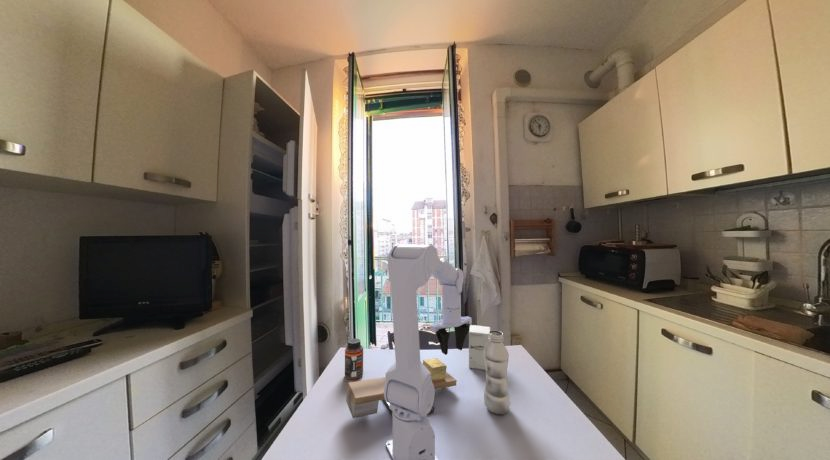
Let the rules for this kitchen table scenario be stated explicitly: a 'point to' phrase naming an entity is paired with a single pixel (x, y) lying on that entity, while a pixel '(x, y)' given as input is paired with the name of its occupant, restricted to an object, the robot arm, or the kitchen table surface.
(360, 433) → the kitchen table surface
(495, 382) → the plastic bottle
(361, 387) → the balance beam
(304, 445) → the kitchen table surface
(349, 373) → the supplement bottle
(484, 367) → the supplement box
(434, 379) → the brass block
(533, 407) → the kitchen table surface
